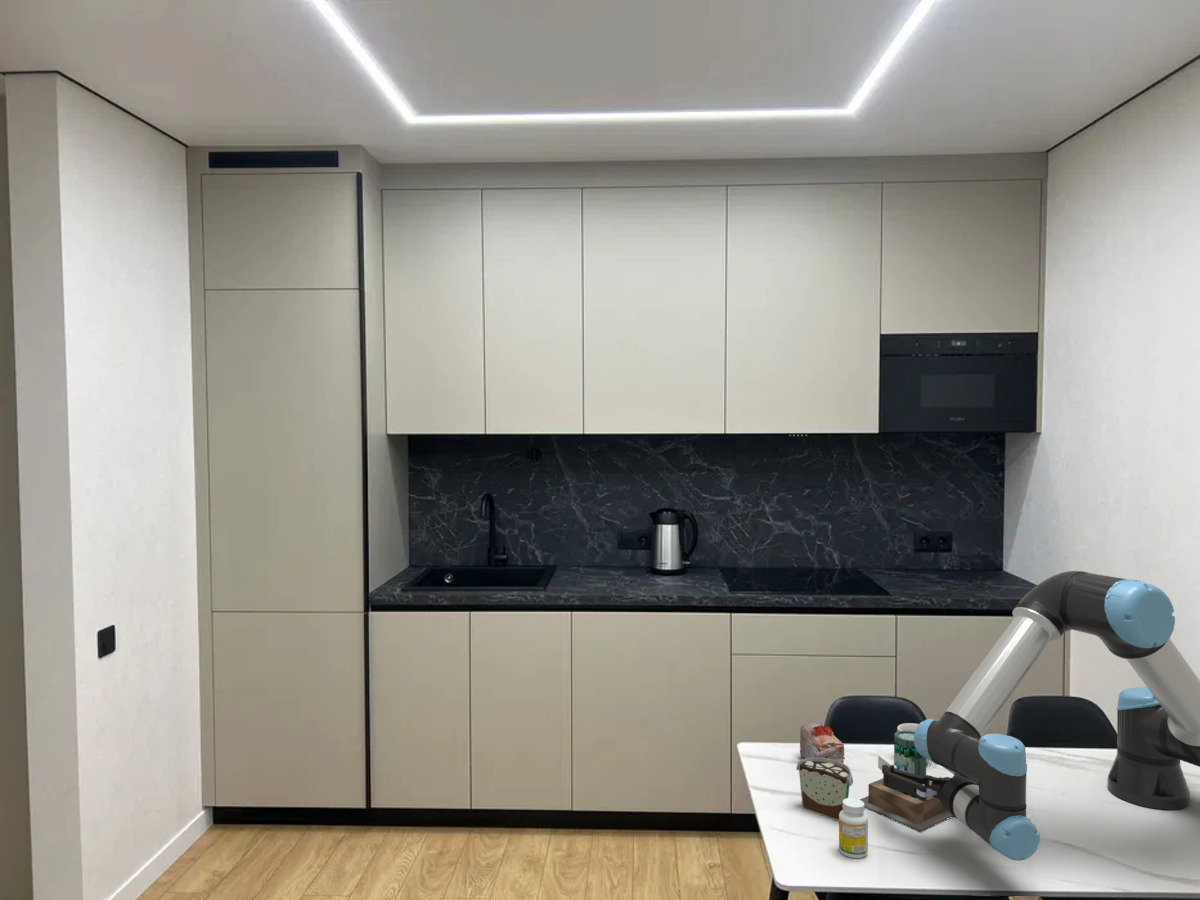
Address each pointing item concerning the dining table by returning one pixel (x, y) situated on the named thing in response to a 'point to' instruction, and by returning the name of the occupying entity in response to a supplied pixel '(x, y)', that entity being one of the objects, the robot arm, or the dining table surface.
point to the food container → (824, 785)
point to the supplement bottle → (853, 829)
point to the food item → (820, 743)
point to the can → (908, 755)
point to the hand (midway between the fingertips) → (909, 758)
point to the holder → (904, 806)
